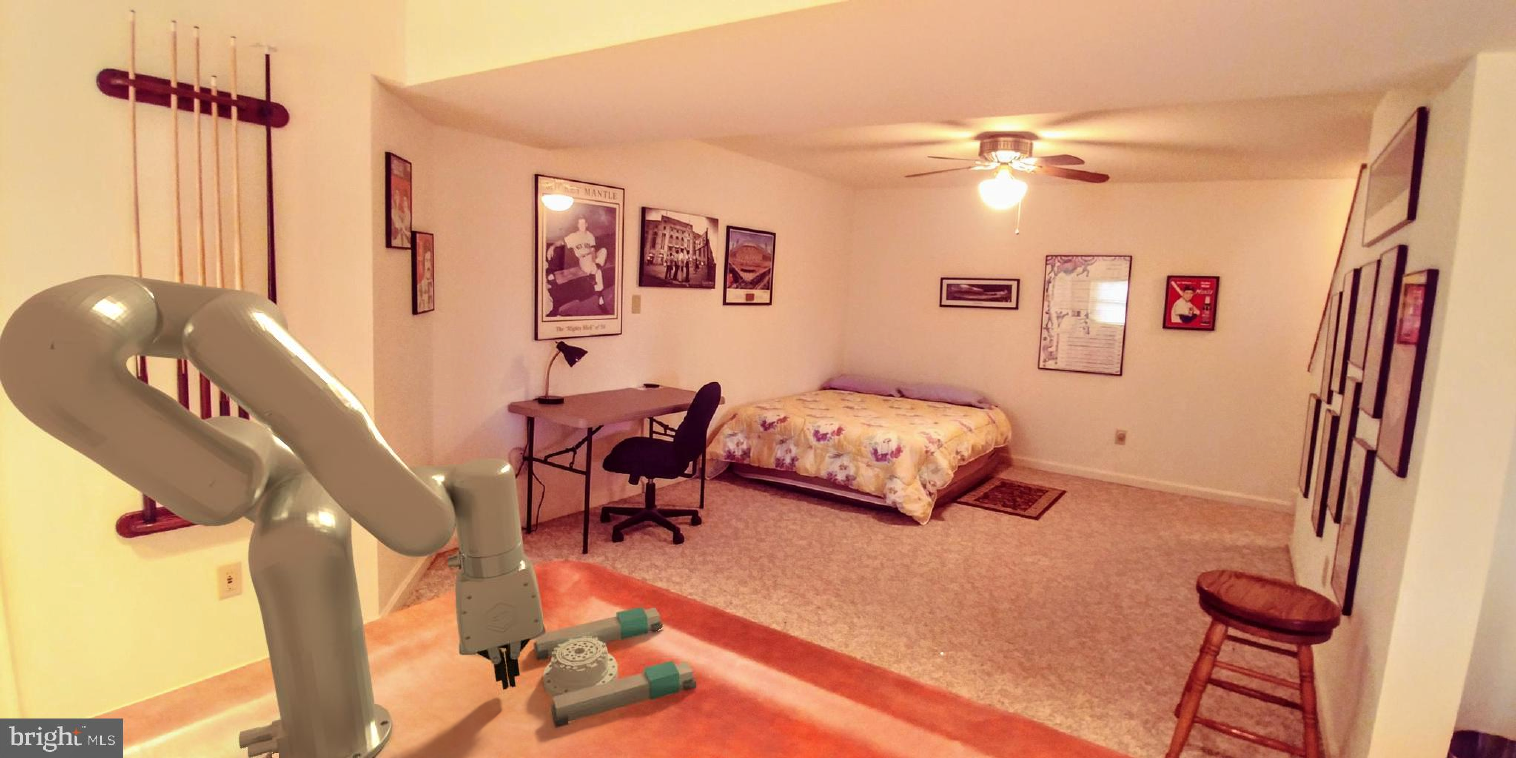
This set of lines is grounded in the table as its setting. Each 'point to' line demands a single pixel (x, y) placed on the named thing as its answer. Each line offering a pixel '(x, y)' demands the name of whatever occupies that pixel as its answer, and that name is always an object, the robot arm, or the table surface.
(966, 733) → the table surface
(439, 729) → the table surface
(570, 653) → the mechanical component
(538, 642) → the bar rails
